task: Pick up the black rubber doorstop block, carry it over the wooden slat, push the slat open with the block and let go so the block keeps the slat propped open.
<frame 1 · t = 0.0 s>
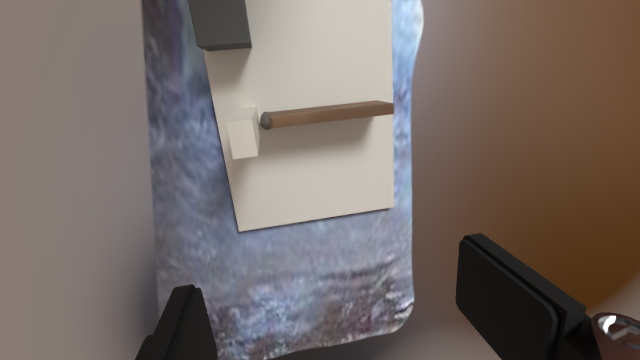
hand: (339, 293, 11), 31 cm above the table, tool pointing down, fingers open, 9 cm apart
doorstop block: (223, 10, 33), point 1 cm above the table, touching gate frame
wooden slat: (324, 113, 36), point 4 cm above the table, hinge at 0.0°
gate frame: (307, 111, 39), on the table
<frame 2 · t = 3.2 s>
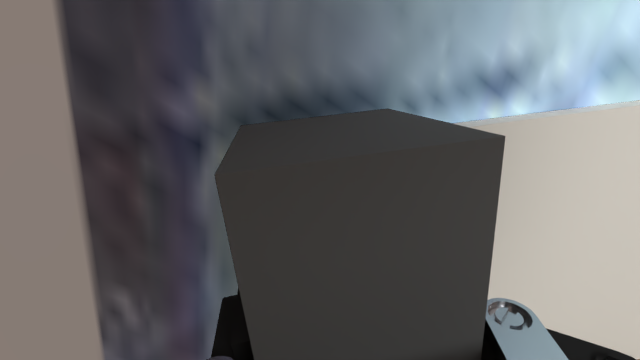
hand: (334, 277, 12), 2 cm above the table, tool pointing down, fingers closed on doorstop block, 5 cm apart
doorstop block: (326, 223, 11), point 1 cm above the table, touching gate frame, gripper
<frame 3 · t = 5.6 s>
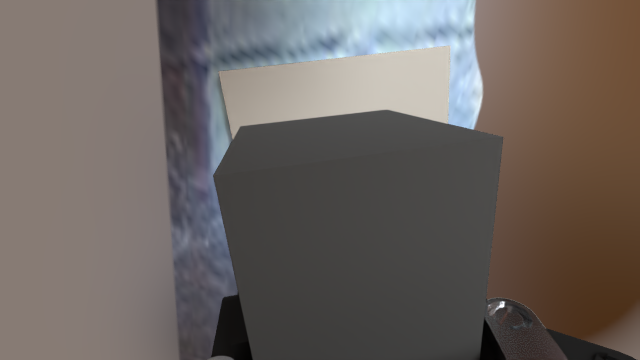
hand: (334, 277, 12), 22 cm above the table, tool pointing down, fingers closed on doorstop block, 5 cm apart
doorstop block: (325, 224, 11), point 21 cm above the table, touching gripper
gate frame: (349, 199, 35), on the table
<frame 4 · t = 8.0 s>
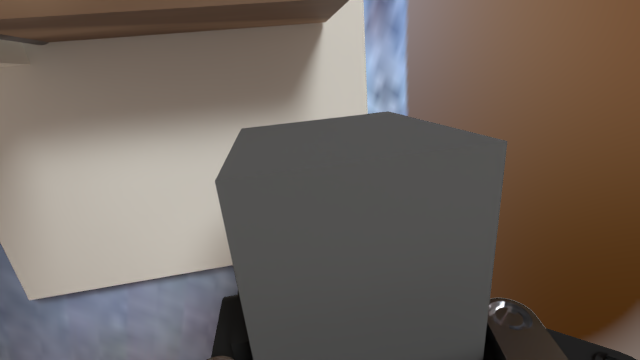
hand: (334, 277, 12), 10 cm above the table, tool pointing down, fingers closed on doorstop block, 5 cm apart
doorstop block: (327, 226, 11), point 9 cm above the table, touching gripper
wooden slat: (165, 7, 13), point 4 cm above the table, hinge at 0.0°
gate frame: (159, 25, 17), on the table
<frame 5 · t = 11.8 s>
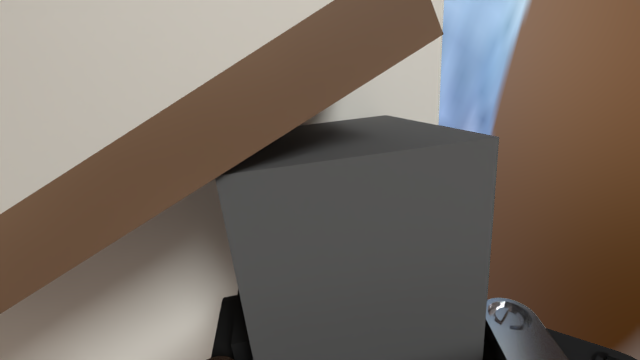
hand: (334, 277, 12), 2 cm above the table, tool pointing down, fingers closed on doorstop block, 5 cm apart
doorstop block: (327, 229, 12), point 1 cm above the table, touching wooden slat, gripper
wooden slat: (96, 196, 7), point 4 cm above the table, hinge at 25.2°, touching doorstop block
gate frame: (151, 228, 12), on the table
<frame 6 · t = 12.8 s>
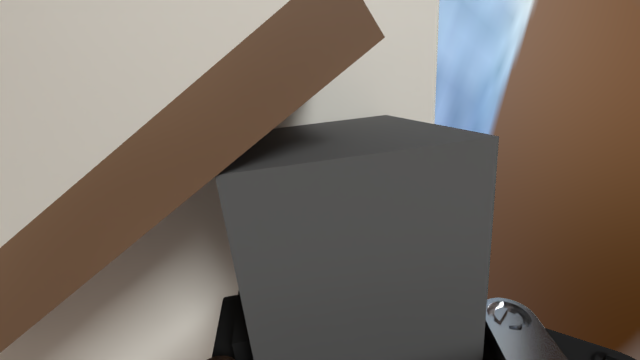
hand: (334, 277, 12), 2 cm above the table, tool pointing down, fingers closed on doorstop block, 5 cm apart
doorstop block: (327, 229, 12), point 1 cm above the table, touching wooden slat, gripper
wooden slat: (86, 227, 7), point 4 cm above the table, hinge at 32.3°, touching doorstop block
gate frame: (159, 261, 12), on the table
when the fingers open (2 cm above the table, at t = 12.9 s): doorstop block stays where it is, resting on wooden slat, gate frame.
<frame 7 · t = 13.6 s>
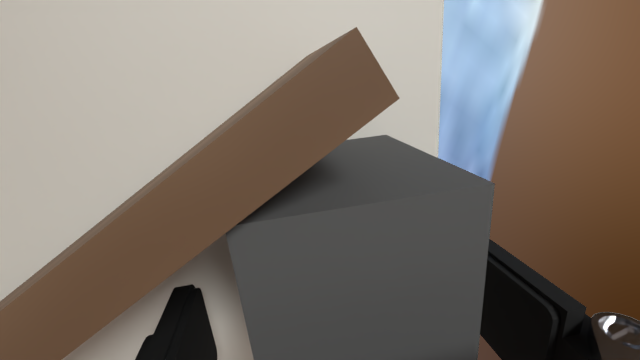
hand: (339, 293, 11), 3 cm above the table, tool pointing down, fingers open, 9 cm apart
doorstop block: (327, 243, 12), point 1 cm above the table, touching wooden slat, gate frame
wooden slat: (94, 262, 7), point 4 cm above the table, hinge at 31.3°, touching doorstop block
gate frame: (162, 282, 12), on the table
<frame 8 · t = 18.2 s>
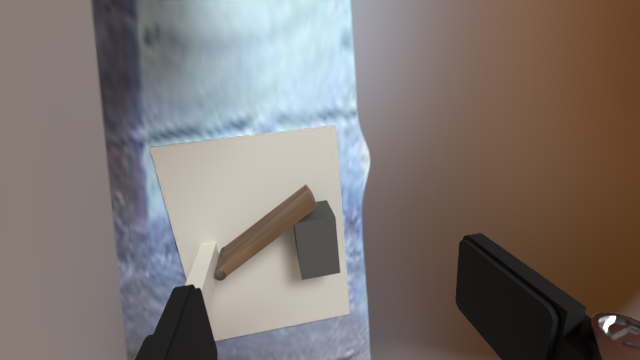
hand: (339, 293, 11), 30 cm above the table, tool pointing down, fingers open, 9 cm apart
doorstop block: (311, 228, 43), point 1 cm above the table, touching wooden slat, gate frame
wooden slat: (264, 230, 38), point 4 cm above the table, hinge at 31.3°, touching doorstop block
gate frame: (264, 240, 43), on the table
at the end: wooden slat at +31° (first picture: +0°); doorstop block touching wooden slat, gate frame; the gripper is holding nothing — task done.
